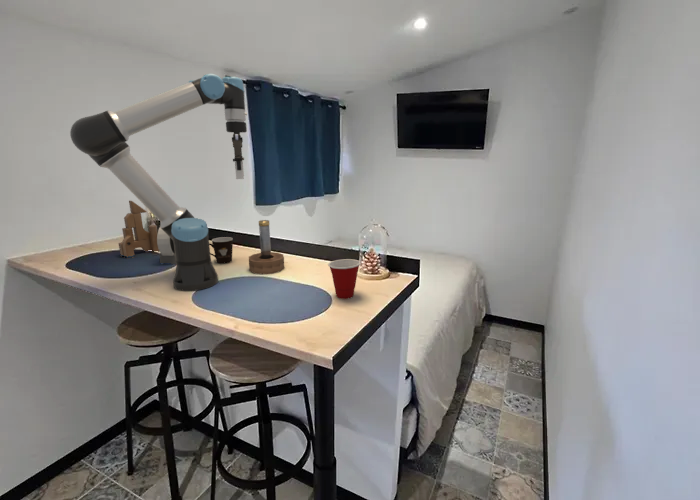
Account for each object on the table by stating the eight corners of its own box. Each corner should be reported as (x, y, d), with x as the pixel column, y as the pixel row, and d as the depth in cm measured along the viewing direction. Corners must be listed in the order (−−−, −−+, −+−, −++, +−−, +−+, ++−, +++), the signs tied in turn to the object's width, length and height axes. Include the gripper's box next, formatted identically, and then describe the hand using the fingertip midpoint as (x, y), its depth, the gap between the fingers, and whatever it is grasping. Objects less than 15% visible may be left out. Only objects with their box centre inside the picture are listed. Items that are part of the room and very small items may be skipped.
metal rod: (272, 269, 150) (269, 221, 145) (261, 270, 149) (258, 222, 144) (271, 266, 154) (269, 219, 148) (261, 267, 153) (258, 220, 147)
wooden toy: (126, 258, 164) (117, 203, 157) (120, 256, 168) (111, 202, 161) (161, 251, 176) (154, 199, 169) (154, 249, 179) (147, 198, 173)
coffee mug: (237, 258, 164) (235, 237, 161) (229, 264, 156) (227, 242, 153) (212, 258, 165) (210, 236, 162) (203, 263, 157) (201, 241, 154)
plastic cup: (342, 287, 131) (342, 255, 128) (366, 294, 125) (367, 261, 122) (321, 296, 123) (321, 262, 120) (346, 304, 117) (346, 269, 113)
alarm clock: (177, 265, 155) (172, 223, 150) (154, 265, 155) (147, 223, 150) (194, 254, 171) (189, 216, 166) (172, 254, 171) (167, 216, 166)
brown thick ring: (285, 272, 147) (285, 260, 145) (249, 275, 143) (248, 263, 142) (282, 262, 160) (281, 251, 158) (249, 264, 156) (248, 253, 155)
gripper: (245, 119, 130) (250, 180, 135) (246, 123, 153) (249, 175, 158) (223, 119, 128) (228, 180, 133) (227, 123, 151) (231, 175, 157)
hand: (240, 177), depth 146 cm, fingers open, 13 cm apart
